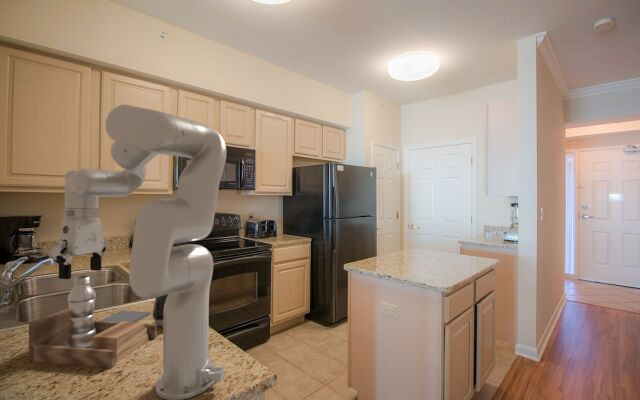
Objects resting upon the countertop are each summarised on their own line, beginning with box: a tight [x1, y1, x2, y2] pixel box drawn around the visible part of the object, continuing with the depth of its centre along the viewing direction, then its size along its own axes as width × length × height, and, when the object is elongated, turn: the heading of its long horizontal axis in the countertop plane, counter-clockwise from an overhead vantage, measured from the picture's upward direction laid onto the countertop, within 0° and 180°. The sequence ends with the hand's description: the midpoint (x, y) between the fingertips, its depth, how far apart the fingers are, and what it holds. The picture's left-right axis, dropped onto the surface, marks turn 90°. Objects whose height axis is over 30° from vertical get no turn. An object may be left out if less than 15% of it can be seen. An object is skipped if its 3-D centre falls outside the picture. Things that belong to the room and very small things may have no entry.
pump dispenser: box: [152, 294, 168, 328], centre depth 103 cm, size 10×10×15 cm
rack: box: [28, 307, 158, 369], centre depth 86 cm, size 24×17×10 cm
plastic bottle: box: [67, 275, 97, 348], centre depth 87 cm, size 6×7×20 cm
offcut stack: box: [90, 321, 149, 363], centre depth 86 cm, size 8×12×6 cm, turn 172°
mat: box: [99, 310, 152, 322], centre depth 107 cm, size 12×12×1 cm
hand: (81, 274), depth 87 cm, fingers open, 9 cm apart
